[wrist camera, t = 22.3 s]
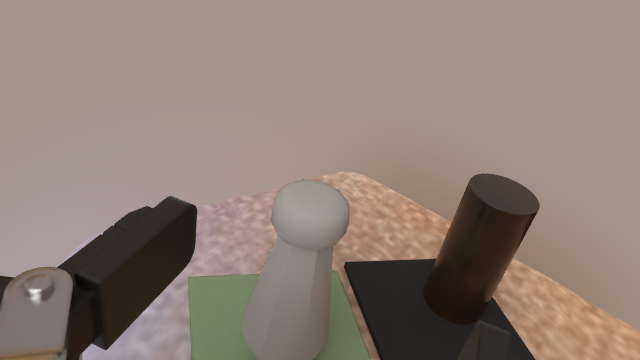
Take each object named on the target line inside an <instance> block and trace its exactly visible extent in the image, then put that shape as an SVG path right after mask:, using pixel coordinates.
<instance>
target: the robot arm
mask: <svg viewBox="0 0 640 360" xmlns="http://www.w3.org/2000/svg"><path fill="white" fill-rule="evenodd" d="M196 222H197V208H196V206H195V205H193V204H190V203H188V202H185V201H183V200H180V199H178V198H175V197H172V196H169V197H167V198H166V199H164V200H163V201H162V202H161V203H159V204H158V205H157V206H156V207H154V208H151V207H148V206H146V207H143V208H141V209H138V210H135V211H133V212H130V213H128V214H127V215H125V216H124V217H123V218H121V219H120V220H119V221H118V222H116V223H115V225H114V226H111V227H110V228H108V229H107V230H106V231H104V232H103V235H101V234H100V235H99V236H98V237H97V238H95V239H94V240H93V241H91V242H90V243H89V244H87V245H86V246H85V247H83V248H82V249H81V250H80V251H78V252H77V253H76V254H74V255H73V256H72V257H70V258H69V259H68V260H66V261H65V262H64V263H62V264H61V265H60V266H58V267H57V268H55V267H39V268H35V269H31V270H28V271H25V272H23V273H21V274H20V275H18V276H16V277H15V278H12V277H5V276H0V360H82V352H83V351H84V350H85V349H86V348H87V347H88V346H89V345H90V344H91V343H92V344H94V345H96V346H98V347H100V348H102V349H104V350H107V349H108V348H109V347H110V346H111V345H112V344H113V343H114V342H115V341H116V340H117V339H118V338H119V336H120V335H121V334H122V333H123V332H124V331H125V330H126V329H127V328H128V327H129V326H130V325H131V324H132V323H133V322H134V321H135V320H136V319H137V318H138V317H139V316H140V314H141V313H142V312H143V311H144V310H145V309H146V308H147V307H148V306H149V305H150V304H151V303H152V302H153V301H154V300H155V299H156V298H157V297H158V296H159V295H160V294H161V293H162V291H163V290H164V289H165V288H166V287H167V286H168V285H169V284H170V283H171V282H172V281H173V280H174V279H175V278H176V277H177V276H178V275H179V274H180V273H181V272H182V271H183V269H184V268H185V267H186V266H187V265H188V263H189V262H190V260H191V258H192V256H193V253H194V250H195V241H196ZM509 349H510V333H509V332H508V331H506V330H503V329H501V328H498V327H496V326H493V325H491V324H488V323H486V322H483V321H481V320H479V321H478V322H477V323H476V325H475V326H474V328H473V330H472V332H471V334H470V336H469V338H468V340H467V342H466V344H465V345H464V347H463V349H462V351H461V353H460V355H459V357H458V359H457V360H520V359H517V358H515V357H512V356H510V355H509Z"/></svg>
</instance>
